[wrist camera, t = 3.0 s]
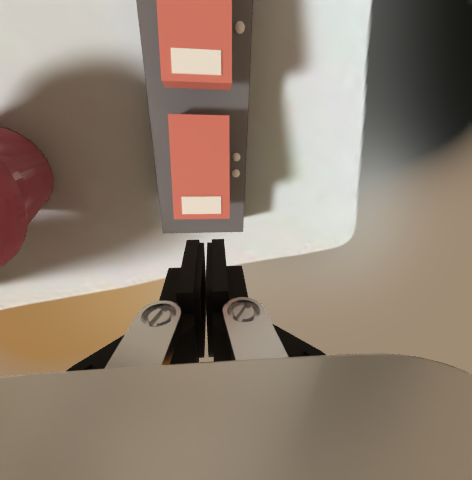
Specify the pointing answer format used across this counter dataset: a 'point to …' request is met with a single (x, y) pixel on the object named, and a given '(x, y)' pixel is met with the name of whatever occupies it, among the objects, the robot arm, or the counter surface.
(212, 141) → the plate
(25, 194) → the plant pot
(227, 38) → the rocker
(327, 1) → the counter surface
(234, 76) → the rocker switch box
